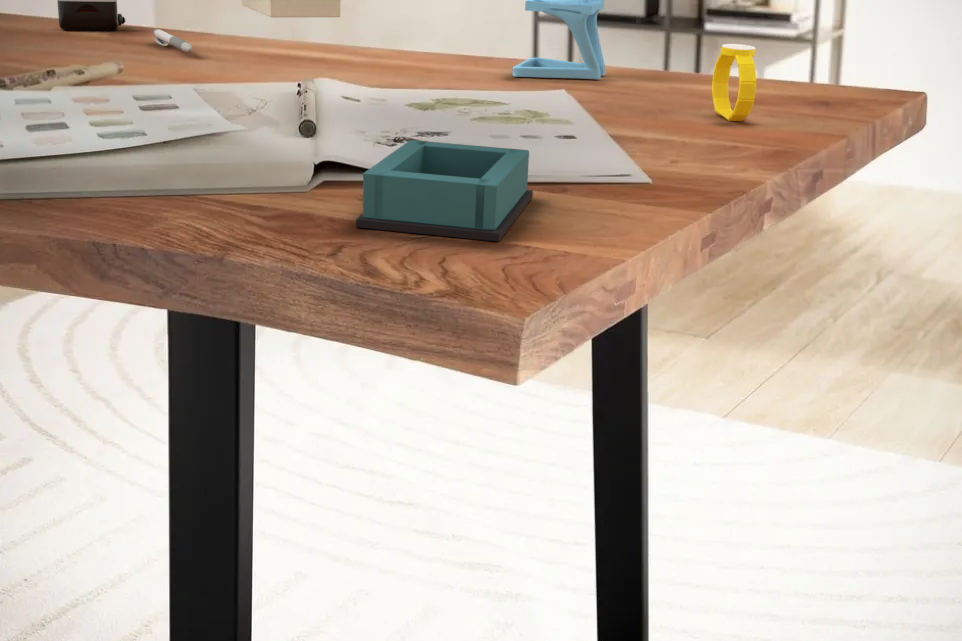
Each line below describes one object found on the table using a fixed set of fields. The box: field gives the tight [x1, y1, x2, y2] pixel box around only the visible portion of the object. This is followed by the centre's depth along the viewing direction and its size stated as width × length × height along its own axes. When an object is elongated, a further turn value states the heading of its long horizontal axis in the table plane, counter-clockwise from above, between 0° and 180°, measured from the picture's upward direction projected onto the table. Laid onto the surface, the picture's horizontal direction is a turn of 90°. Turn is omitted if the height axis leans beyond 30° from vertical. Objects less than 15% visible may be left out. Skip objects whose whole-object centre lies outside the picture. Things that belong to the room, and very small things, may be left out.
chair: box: [512, 0, 606, 80], centre depth 119 cm, size 8×8×12 cm
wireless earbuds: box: [56, 0, 127, 32], centre depth 139 cm, size 5×7×3 cm, turn 105°
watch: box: [711, 43, 757, 122], centre depth 102 cm, size 6×3×6 cm, turn 12°
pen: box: [152, 28, 194, 53], centre depth 127 cm, size 1×14×1 cm, turn 29°
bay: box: [355, 139, 534, 243], centre depth 70 cm, size 10×8×3 cm
